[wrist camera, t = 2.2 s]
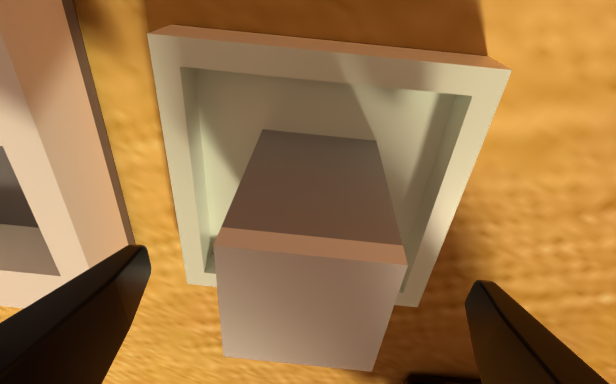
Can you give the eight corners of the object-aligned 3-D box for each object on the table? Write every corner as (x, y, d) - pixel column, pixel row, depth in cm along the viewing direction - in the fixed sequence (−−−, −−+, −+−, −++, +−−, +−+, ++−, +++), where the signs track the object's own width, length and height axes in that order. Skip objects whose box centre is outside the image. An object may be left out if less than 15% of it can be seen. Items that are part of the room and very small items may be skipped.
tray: (410, 277, 16) (417, 307, 15) (199, 256, 16) (187, 284, 15) (488, 56, 11) (511, 70, 9) (170, 24, 11) (146, 33, 9)
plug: (357, 229, 14) (371, 371, 9) (261, 219, 14) (223, 356, 9) (376, 140, 12) (408, 265, 7) (262, 129, 12) (213, 245, 7)
